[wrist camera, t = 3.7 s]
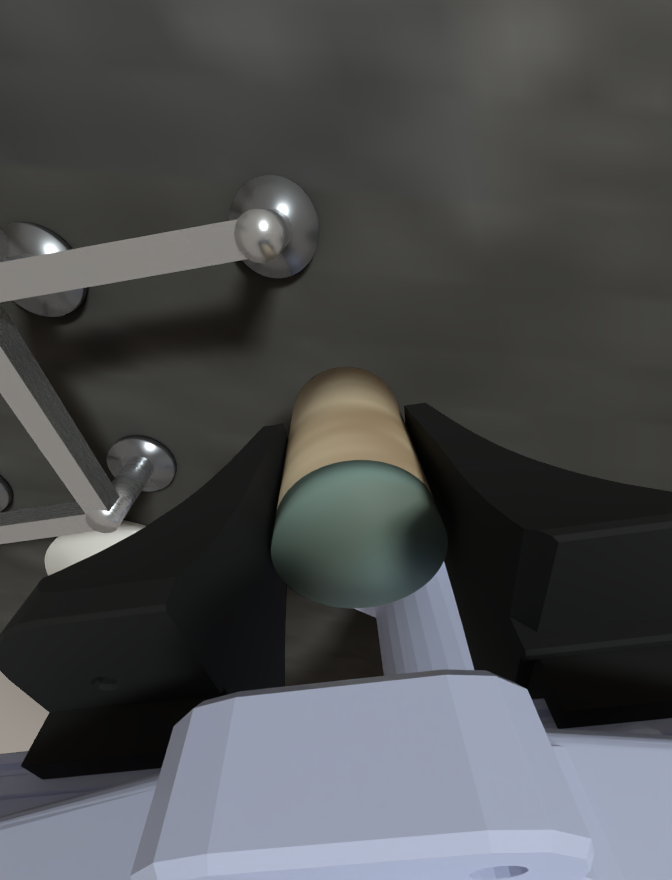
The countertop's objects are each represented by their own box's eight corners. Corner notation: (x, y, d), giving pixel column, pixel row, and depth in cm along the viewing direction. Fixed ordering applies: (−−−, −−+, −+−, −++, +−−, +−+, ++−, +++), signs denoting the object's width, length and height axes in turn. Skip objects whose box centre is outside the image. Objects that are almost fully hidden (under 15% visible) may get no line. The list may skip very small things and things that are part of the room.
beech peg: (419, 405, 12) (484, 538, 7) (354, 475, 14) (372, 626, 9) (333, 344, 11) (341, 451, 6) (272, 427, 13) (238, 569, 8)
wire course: (336, 218, 13) (341, 222, 9) (120, 560, 21) (82, 627, 18) (56, -22, 10) (-91, -149, 6) (-62, 492, 18) (-150, 556, 15)
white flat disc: (219, 556, 21) (217, 564, 21) (164, 623, 25) (161, 632, 24) (75, 496, 19) (68, 504, 18) (35, 580, 22) (28, 589, 21)
